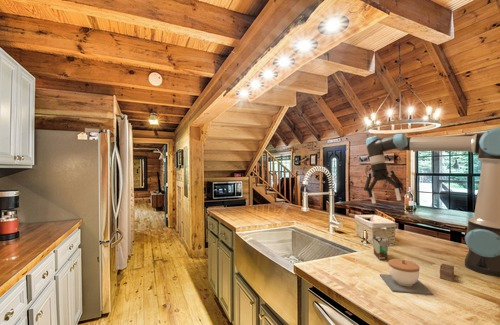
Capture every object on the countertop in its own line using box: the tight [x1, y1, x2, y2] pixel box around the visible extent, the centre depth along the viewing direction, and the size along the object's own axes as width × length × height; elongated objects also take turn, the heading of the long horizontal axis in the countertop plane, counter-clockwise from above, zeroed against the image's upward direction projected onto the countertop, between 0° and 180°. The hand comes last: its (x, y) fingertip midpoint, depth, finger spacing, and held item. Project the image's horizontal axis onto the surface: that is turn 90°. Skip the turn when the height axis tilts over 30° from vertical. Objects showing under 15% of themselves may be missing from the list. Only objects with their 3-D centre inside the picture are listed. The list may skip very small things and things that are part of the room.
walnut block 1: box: [439, 263, 455, 271], centre depth 105 cm, size 4×4×4 cm
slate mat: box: [379, 273, 434, 296], centre depth 97 cm, size 14×14×1 cm
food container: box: [372, 235, 390, 261], centre depth 126 cm, size 12×6×10 cm, turn 168°
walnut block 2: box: [439, 267, 455, 283], centre depth 101 cm, size 4×4×4 cm
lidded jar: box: [387, 258, 420, 286], centre depth 97 cm, size 11×11×9 cm
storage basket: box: [354, 214, 397, 246], centre depth 155 cm, size 24×16×15 cm
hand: (386, 201), depth 127 cm, fingers open, 13 cm apart
